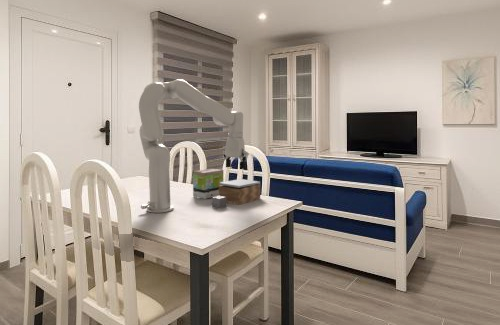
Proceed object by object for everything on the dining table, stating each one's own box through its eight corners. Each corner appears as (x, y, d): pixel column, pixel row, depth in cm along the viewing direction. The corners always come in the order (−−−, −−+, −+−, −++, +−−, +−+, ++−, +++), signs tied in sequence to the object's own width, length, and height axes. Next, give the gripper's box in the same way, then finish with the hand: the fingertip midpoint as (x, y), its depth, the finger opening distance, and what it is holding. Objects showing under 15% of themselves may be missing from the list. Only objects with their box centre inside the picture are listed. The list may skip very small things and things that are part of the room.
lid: (238, 187, 176) (238, 185, 176) (218, 184, 184) (218, 182, 184) (260, 183, 190) (260, 181, 189) (240, 180, 198) (240, 179, 198)
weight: (219, 208, 170) (219, 198, 169) (212, 207, 173) (212, 197, 172) (226, 206, 173) (226, 197, 173) (219, 205, 176) (219, 195, 176)
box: (238, 204, 177) (238, 189, 176) (218, 200, 186) (218, 186, 185) (260, 198, 191) (260, 184, 190) (240, 194, 199) (240, 181, 198)
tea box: (205, 199, 189) (205, 172, 187) (192, 197, 195) (192, 170, 193) (224, 194, 200) (223, 169, 199) (211, 192, 207) (210, 167, 205)
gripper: (218, 134, 184) (218, 167, 186) (243, 136, 173) (242, 170, 175) (228, 134, 190) (227, 165, 192) (253, 136, 179) (252, 169, 181)
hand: (235, 168), depth 183 cm, fingers open, 9 cm apart
